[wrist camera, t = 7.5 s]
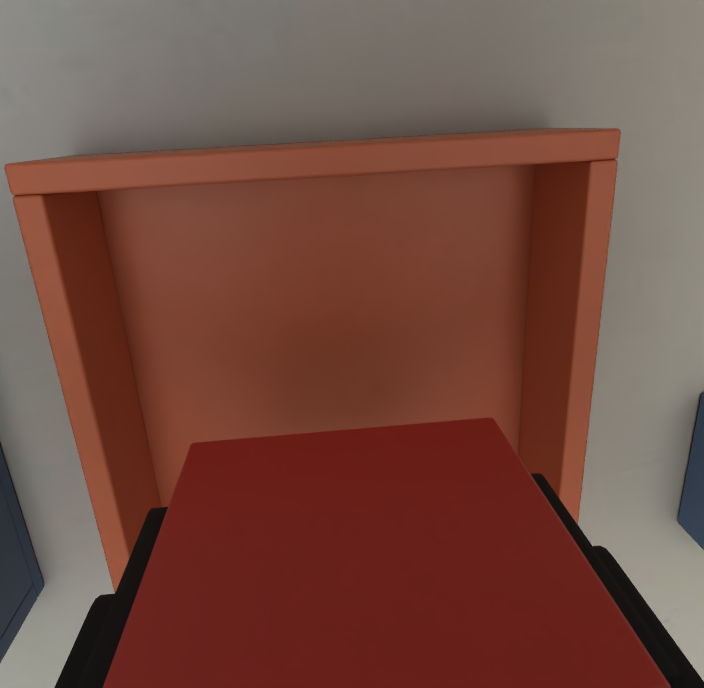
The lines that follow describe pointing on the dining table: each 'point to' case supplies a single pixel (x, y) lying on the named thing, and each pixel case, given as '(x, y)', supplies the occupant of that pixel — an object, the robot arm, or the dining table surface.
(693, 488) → the blue block
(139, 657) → the red block
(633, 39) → the dining table surface
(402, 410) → the orange open box
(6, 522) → the blue bin
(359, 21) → the dining table surface
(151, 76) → the dining table surface
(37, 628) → the dining table surface
